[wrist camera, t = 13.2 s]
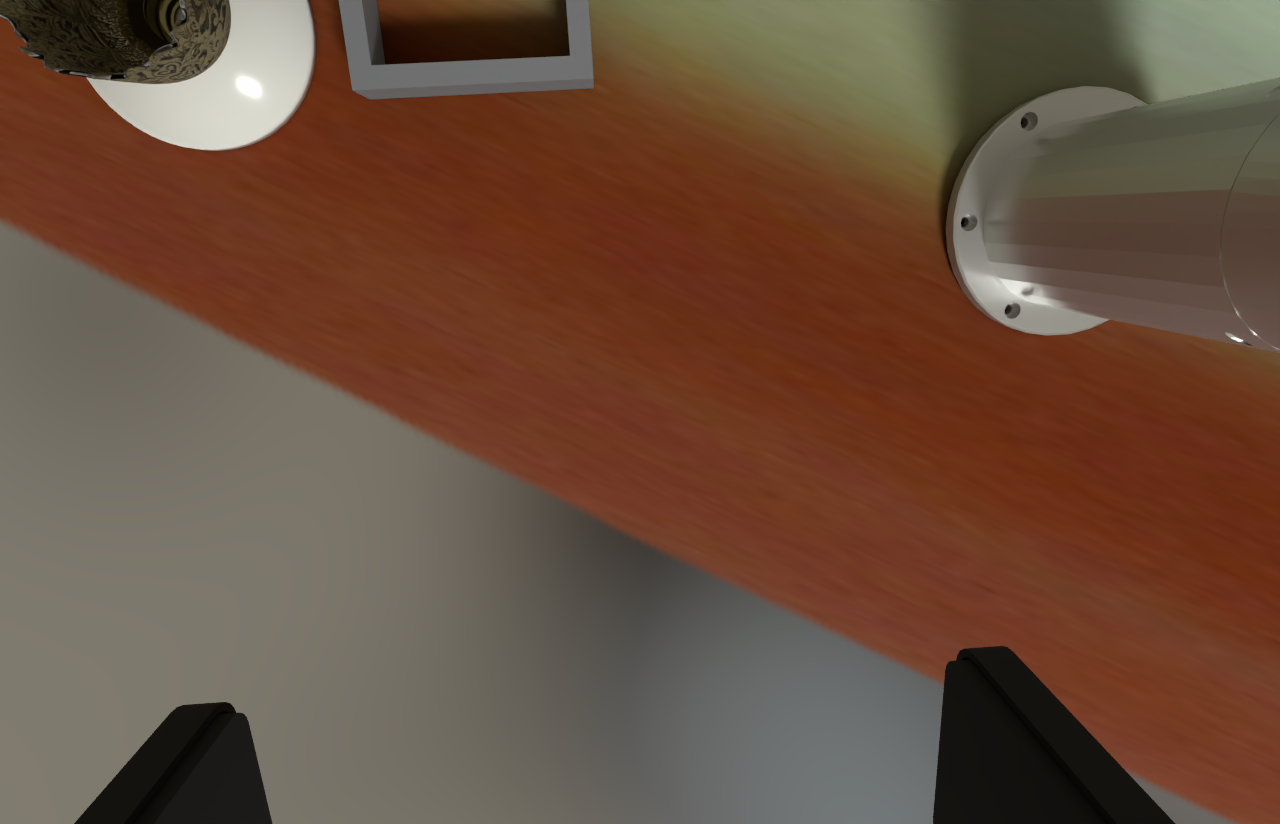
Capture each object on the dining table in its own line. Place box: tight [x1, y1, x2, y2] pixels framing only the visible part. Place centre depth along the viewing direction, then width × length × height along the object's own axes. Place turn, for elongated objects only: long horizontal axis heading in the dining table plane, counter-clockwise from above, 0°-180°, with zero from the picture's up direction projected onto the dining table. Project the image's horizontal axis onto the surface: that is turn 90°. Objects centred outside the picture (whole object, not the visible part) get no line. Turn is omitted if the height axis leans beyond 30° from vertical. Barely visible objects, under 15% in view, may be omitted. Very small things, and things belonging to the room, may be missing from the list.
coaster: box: [86, 0, 317, 151], centre depth 33 cm, size 11×11×1 cm
